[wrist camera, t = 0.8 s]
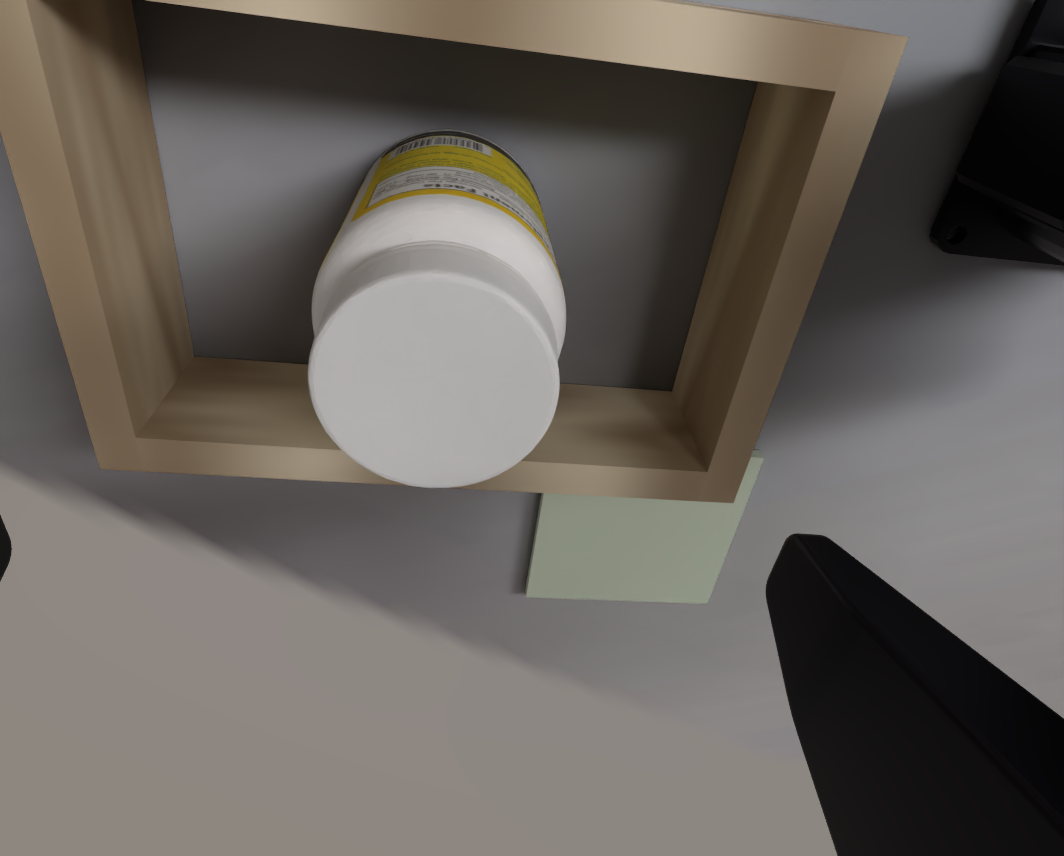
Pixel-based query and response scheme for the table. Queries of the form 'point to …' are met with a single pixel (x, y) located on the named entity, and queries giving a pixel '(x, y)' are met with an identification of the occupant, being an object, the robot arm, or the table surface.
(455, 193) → the supplement bottle
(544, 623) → the table surface
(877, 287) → the table surface
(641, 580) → the sage mat
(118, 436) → the wooden box
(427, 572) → the table surface
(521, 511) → the table surface
